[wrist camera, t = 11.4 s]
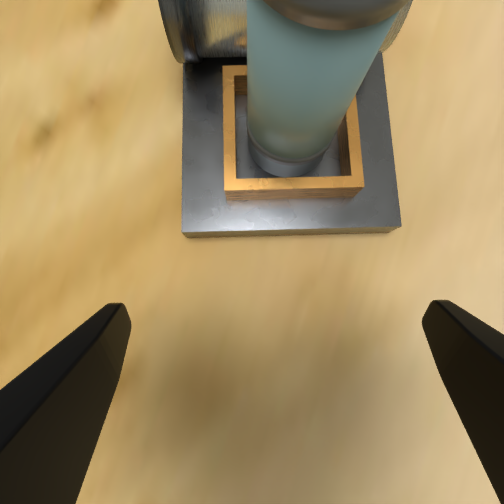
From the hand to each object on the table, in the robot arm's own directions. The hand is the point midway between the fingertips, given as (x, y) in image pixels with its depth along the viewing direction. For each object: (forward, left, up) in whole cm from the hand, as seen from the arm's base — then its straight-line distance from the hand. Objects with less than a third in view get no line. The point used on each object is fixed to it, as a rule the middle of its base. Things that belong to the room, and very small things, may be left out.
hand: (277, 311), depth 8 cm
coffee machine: (+14, -7, -13) cm, 21 cm away
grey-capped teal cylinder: (+11, -6, -11) cm, 17 cm away
